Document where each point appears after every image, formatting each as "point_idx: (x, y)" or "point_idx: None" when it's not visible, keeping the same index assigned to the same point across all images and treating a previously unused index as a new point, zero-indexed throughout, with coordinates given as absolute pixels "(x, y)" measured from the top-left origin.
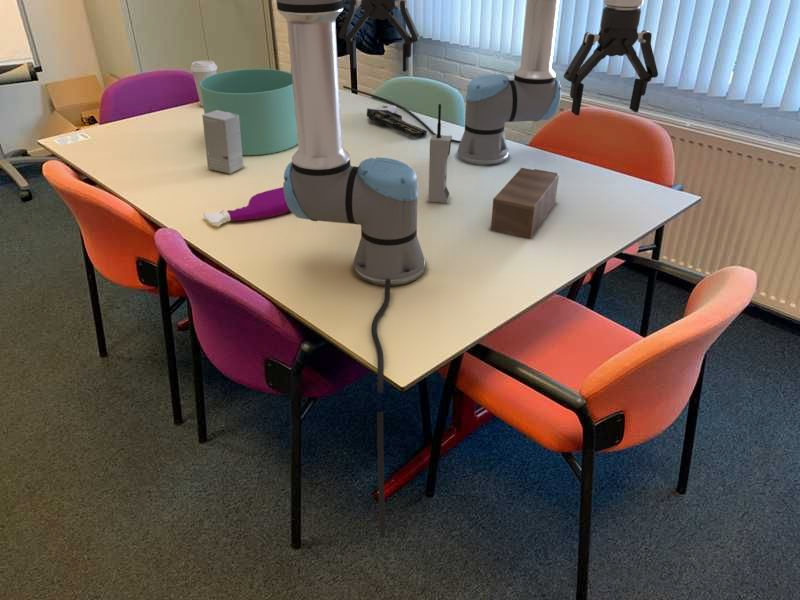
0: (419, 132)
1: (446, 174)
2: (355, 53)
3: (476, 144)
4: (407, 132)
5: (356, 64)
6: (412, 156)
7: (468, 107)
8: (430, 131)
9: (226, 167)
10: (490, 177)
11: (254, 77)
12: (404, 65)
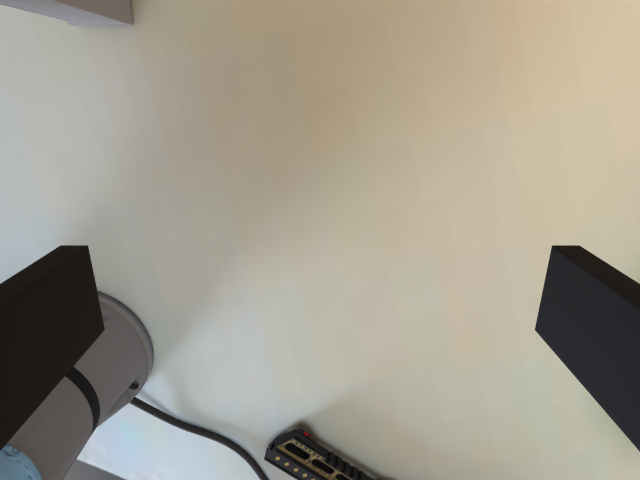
0: (280, 444)
1: (42, 14)
2: (612, 389)
3: None
4: (313, 442)
5: (543, 337)
6: (269, 315)
7: (33, 431)
8: (260, 471)
9: None
10: (16, 211)
11: None
12: (38, 266)
